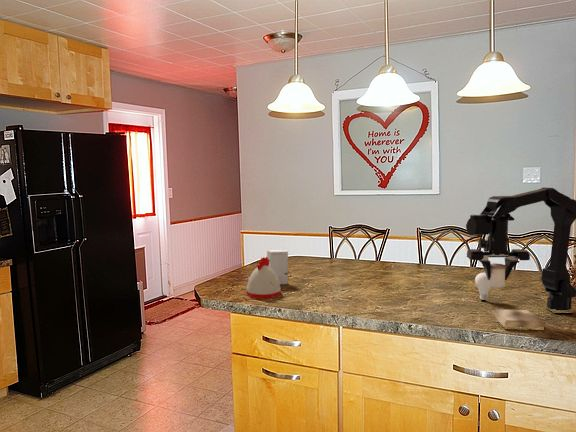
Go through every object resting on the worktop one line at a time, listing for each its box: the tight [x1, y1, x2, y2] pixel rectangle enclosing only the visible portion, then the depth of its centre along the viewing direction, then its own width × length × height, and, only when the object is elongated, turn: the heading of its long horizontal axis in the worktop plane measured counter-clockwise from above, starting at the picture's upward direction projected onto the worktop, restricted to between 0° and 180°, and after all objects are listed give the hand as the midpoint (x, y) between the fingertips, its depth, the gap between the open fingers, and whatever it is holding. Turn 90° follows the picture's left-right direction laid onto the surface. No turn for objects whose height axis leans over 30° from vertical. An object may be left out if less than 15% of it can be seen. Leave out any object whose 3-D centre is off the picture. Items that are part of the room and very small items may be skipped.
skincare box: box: [266, 249, 289, 286], centre depth 206 cm, size 8×6×15 cm
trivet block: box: [490, 309, 546, 328], centre depth 151 cm, size 12×12×3 cm
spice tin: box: [489, 263, 506, 289], centre depth 157 cm, size 5×5×7 cm
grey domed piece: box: [246, 256, 282, 299], centre depth 190 cm, size 14×14×15 cm
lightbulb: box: [474, 272, 492, 301], centre depth 177 cm, size 6×6×11 cm
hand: (496, 279), depth 157 cm, fingers closed on spice tin, 5 cm apart
